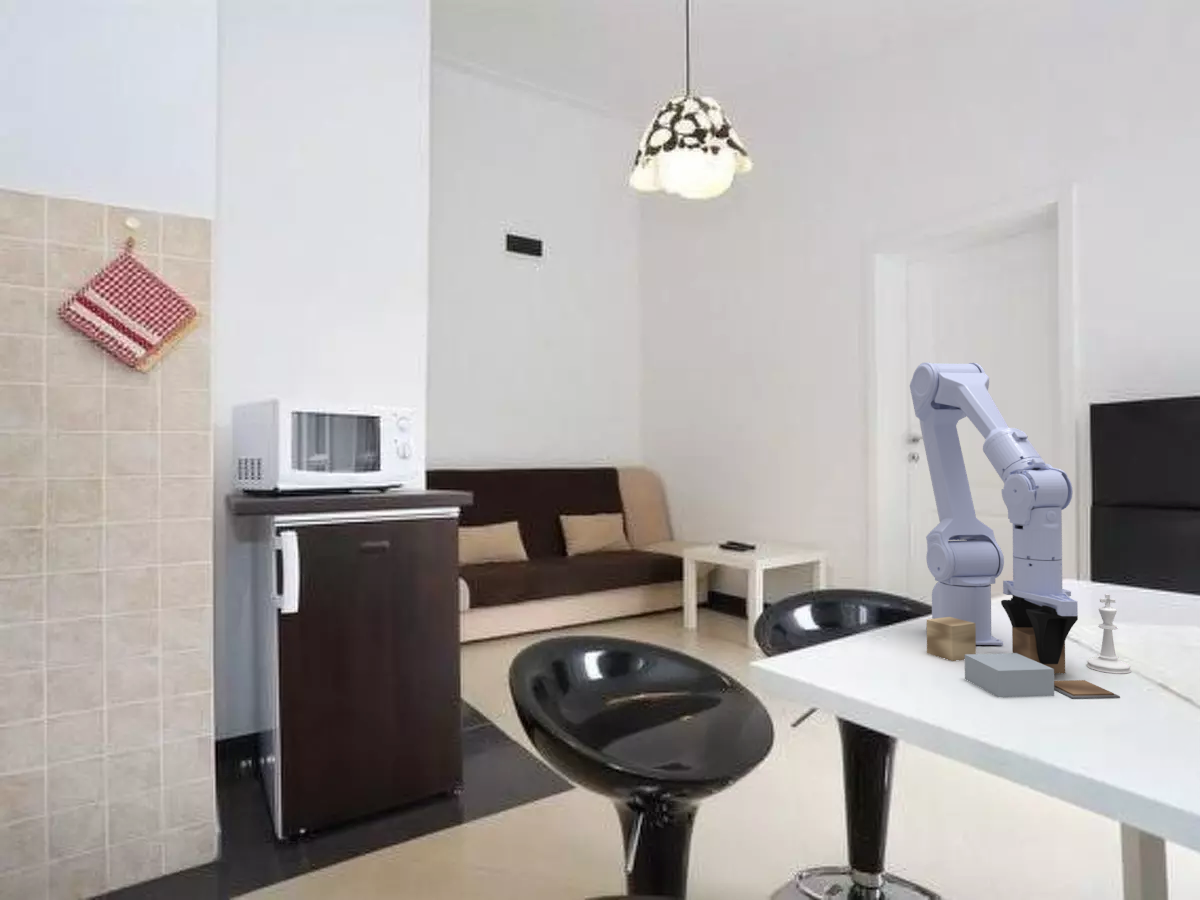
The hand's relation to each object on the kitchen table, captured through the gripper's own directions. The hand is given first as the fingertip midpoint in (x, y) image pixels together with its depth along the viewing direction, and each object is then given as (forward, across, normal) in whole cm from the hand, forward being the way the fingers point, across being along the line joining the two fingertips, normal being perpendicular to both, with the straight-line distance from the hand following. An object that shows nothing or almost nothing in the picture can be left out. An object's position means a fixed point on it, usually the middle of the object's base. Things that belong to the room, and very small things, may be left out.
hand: (1038, 657), depth 97 cm
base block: (+2, -8, +8) cm, 11 cm away
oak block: (+2, +6, +9) cm, 11 cm away
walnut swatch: (+1, -9, 0) cm, 9 cm away
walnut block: (+1, 0, 0) cm, 1 cm away
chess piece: (+2, 0, -9) cm, 10 cm away
